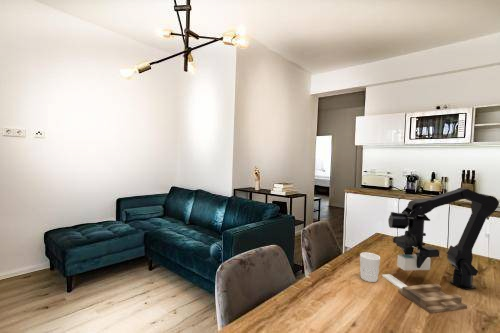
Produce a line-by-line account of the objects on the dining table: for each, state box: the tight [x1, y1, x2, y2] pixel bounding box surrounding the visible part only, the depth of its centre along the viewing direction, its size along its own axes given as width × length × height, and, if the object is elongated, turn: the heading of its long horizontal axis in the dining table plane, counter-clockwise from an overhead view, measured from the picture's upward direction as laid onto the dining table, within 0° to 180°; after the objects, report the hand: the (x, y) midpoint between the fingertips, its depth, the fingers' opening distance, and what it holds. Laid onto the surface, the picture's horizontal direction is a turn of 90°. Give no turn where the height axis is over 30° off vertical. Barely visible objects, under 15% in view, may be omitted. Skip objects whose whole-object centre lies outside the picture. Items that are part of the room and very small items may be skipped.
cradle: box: [397, 283, 468, 314], centre depth 98 cm, size 16×14×3 cm
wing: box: [381, 273, 408, 289], centre depth 111 cm, size 4×12×1 cm, turn 8°
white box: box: [396, 253, 432, 271], centre depth 114 cm, size 12×4×5 cm, turn 98°
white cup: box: [359, 251, 381, 283], centre depth 114 cm, size 8×8×10 cm
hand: (413, 265), depth 114 cm, fingers closed on white box, 5 cm apart
